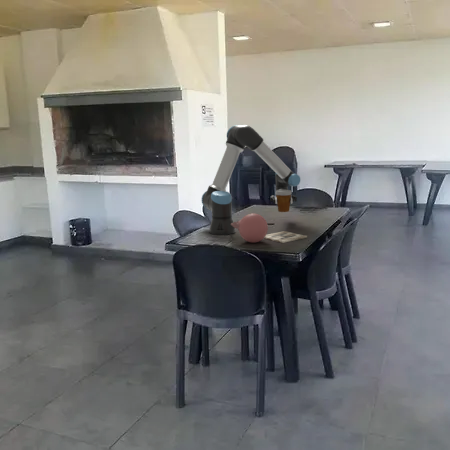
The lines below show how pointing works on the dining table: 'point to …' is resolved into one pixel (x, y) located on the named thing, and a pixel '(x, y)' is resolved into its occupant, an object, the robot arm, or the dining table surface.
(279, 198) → the disposable coffee cup
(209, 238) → the dining table surface
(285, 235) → the board
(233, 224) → the balloon
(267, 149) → the robot arm
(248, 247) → the dining table surface
